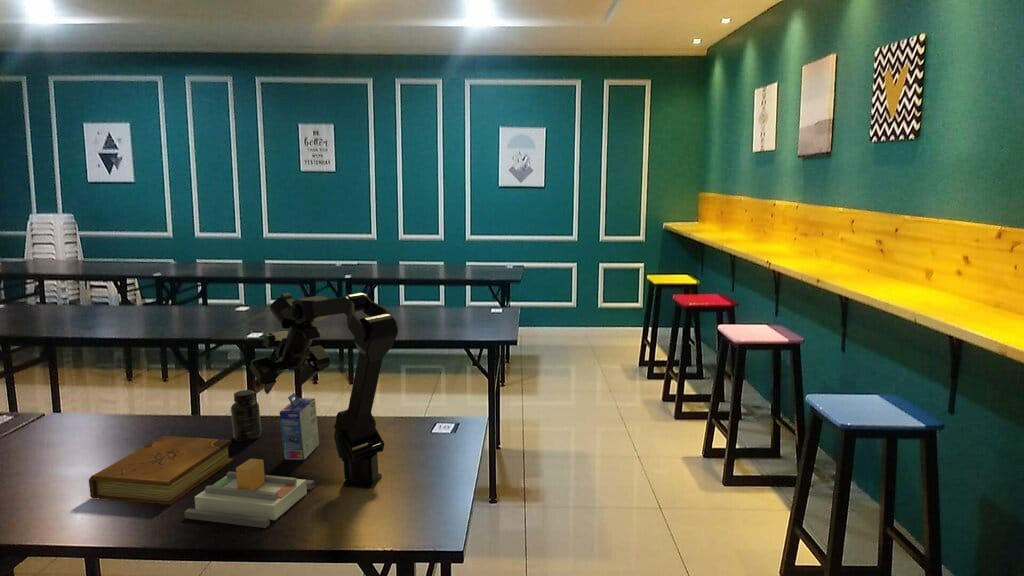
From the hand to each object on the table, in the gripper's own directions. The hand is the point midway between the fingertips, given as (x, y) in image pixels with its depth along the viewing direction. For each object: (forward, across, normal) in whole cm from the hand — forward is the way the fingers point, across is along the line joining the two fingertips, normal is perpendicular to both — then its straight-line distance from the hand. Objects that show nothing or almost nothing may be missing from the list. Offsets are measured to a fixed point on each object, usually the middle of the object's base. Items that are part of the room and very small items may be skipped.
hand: (283, 388), depth 174 cm
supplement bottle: (+20, +4, -3) cm, 20 cm away
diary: (+15, +28, +5) cm, 32 cm away
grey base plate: (+1, +21, +27) cm, 34 cm away
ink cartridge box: (+9, 0, +13) cm, 16 cm away
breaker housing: (+1, +21, +27) cm, 34 cm away
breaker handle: (-2, +21, +25) cm, 33 cm away
